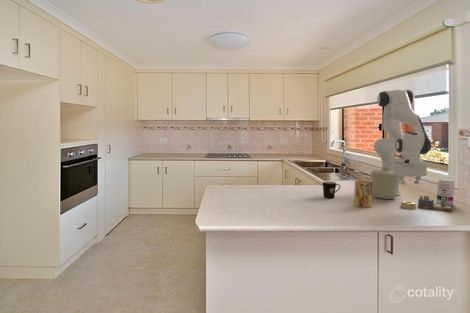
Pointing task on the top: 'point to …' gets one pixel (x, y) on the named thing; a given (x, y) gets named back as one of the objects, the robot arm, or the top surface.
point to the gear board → (437, 205)
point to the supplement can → (445, 191)
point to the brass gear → (408, 204)
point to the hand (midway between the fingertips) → (409, 184)
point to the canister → (384, 183)
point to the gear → (426, 201)
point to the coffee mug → (329, 189)
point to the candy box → (363, 193)
